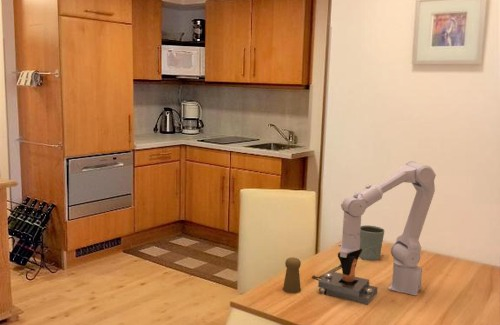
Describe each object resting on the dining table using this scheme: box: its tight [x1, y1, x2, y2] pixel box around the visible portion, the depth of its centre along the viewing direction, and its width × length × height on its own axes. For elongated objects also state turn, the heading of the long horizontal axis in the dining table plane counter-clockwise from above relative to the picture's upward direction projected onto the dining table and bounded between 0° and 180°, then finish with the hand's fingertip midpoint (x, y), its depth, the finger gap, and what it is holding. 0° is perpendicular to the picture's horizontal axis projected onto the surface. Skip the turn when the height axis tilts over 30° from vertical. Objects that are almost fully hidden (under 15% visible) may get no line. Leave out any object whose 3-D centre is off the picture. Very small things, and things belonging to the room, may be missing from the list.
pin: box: [342, 259, 358, 282], centre depth 169 cm, size 5×5×7 cm
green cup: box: [358, 225, 385, 262], centre depth 205 cm, size 10×10×12 cm
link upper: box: [317, 270, 370, 297], centre depth 171 cm, size 14×11×5 cm
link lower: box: [325, 283, 378, 305], centre depth 169 cm, size 14×11×3 cm
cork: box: [282, 257, 302, 294], centre depth 171 cm, size 6×6×11 cm
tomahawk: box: [311, 263, 342, 282], centre depth 188 cm, size 21×7×1 cm, turn 137°
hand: (348, 271), depth 169 cm, fingers closed on pin, 5 cm apart
